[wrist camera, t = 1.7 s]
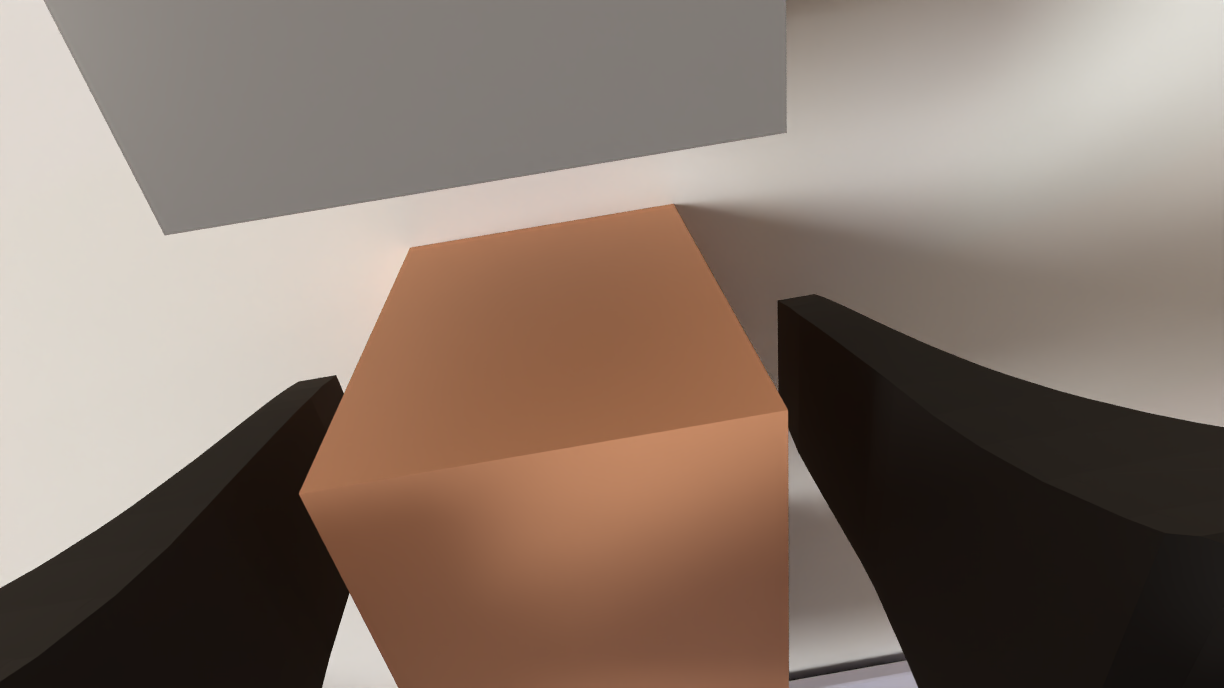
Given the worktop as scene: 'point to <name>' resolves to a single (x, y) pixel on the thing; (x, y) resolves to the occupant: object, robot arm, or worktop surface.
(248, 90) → the charcoal block
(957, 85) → the worktop surface
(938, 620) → the robot arm
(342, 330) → the worktop surface
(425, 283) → the terracotta block
